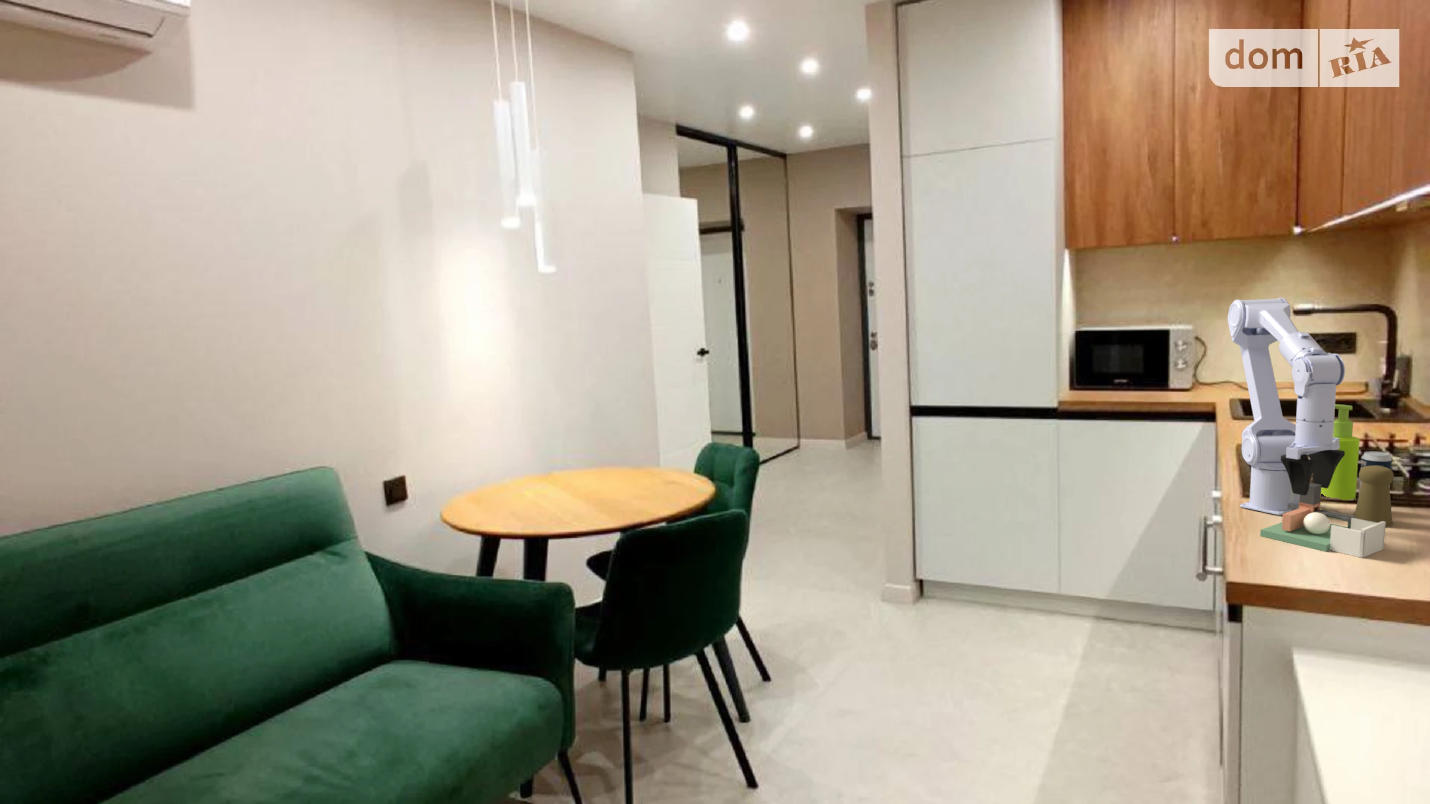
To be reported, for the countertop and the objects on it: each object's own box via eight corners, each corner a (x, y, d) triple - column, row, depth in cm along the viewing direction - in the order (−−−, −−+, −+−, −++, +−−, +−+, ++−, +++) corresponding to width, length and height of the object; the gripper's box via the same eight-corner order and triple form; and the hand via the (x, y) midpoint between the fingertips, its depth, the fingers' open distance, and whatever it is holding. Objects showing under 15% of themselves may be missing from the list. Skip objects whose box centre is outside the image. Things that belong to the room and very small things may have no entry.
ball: (1309, 529, 155) (1311, 508, 154) (1334, 534, 151) (1335, 513, 151) (1298, 533, 153) (1299, 512, 152) (1322, 538, 150) (1323, 517, 149)
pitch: (1297, 522, 162) (1298, 516, 162) (1363, 536, 153) (1363, 530, 153) (1260, 535, 156) (1260, 529, 156) (1326, 551, 147) (1326, 545, 146)
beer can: (1359, 507, 170) (1363, 449, 168) (1389, 511, 166) (1394, 452, 164) (1355, 512, 166) (1359, 454, 164) (1386, 517, 163) (1390, 457, 161)
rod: (1290, 519, 161) (1291, 502, 160) (1355, 533, 151) (1356, 515, 151) (1286, 520, 160) (1287, 503, 160) (1352, 535, 151) (1353, 516, 150)
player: (1305, 519, 159) (1307, 482, 158) (1319, 522, 157) (1321, 484, 156) (1278, 528, 155) (1281, 490, 154) (1292, 532, 153) (1295, 493, 151)
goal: (1351, 541, 151) (1352, 515, 150) (1383, 549, 146) (1385, 521, 146) (1329, 550, 147) (1331, 522, 146) (1362, 557, 143) (1364, 529, 142)
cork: (1375, 516, 163) (1379, 462, 162) (1401, 526, 157) (1405, 469, 156) (1345, 518, 163) (1348, 464, 161) (1370, 528, 157) (1374, 471, 155)
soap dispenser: (1314, 492, 181) (1320, 402, 178) (1354, 496, 177) (1361, 403, 174) (1314, 499, 176) (1320, 406, 173) (1355, 503, 172) (1362, 408, 169)
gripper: (1318, 427, 147) (1313, 501, 149) (1359, 417, 154) (1354, 488, 156) (1275, 422, 153) (1271, 493, 156) (1317, 412, 160) (1313, 481, 162)
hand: (1310, 490), depth 156 cm, fingers open, 7 cm apart
